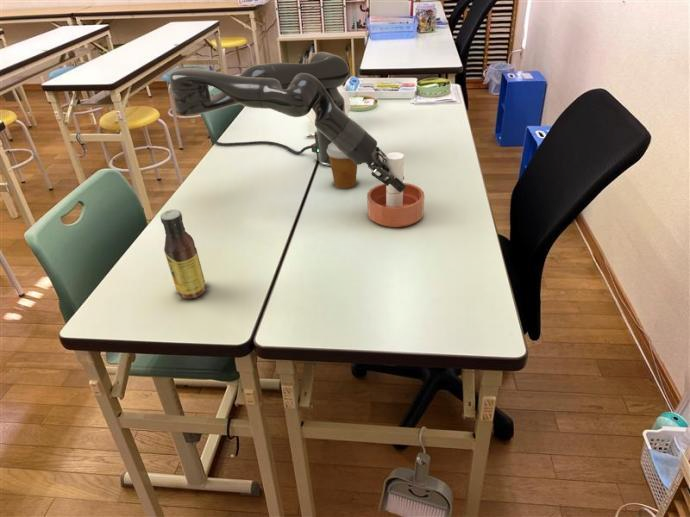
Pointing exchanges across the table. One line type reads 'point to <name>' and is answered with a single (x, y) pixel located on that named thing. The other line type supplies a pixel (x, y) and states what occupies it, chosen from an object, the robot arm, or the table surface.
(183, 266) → the sauce bottle
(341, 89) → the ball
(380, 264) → the table surface
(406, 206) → the bowl
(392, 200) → the tube
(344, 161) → the disposable coffee cup
